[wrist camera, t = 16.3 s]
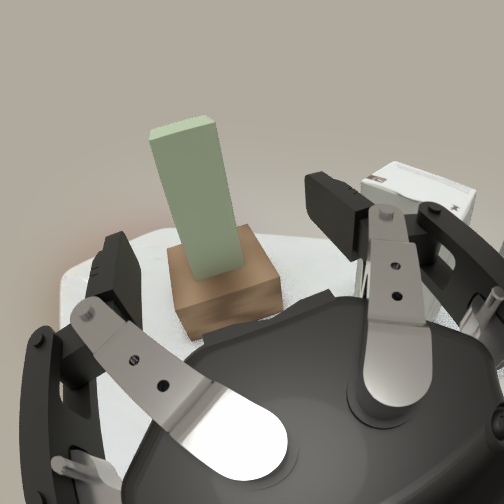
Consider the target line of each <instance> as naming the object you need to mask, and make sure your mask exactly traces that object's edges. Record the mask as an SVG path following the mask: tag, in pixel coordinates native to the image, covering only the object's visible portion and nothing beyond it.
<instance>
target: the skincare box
mask: <svg viewBox="0 0 504 504" xmlns="http://www.w3.org/2000/svg"><path fill="white" fill-rule="evenodd" d="M361 194H362V195H363V196H365V197H366V198H367V199H369V200H370V201H371V202H373V203H374V204H375V205H376V204H389V205H392V206H395V207H397V208H399V209H400V210H401V211H402V212H403V214H417V212H418V207H419V204H420V203H422V202H425V201H430V202H435V203H438V204H440V205H442V206H444V207H445V208H446V209H448V210H449V211H450V212H452V213H453V214H454V215H455V216H457V217H458V218H459V219H460V220H462V221H463V222H464V223H465V224H466V225H468V226H469V224H470V220H471V216H472V212H473V207H474V202H475V197H476V190H474V189H472V188H469V187H467V186H464V185H462V184H459V183H456V182H454V181H451V180H448V179H446V178H443V177H440V176H437V175H434V174H431V173H429V172H426V171H423V170H420V169H417V168H414V167H411V166H408V165H405V164H402V163H399V162H396V161H394V162H392V163H390V164H388V165H386V166H385V167H383V168H382V169H380V170H378V171H377V172H375V173H373V174H372V175H370V176H369V177H367V178H365V179H363V180H362V181H361ZM438 255H439V256H440V257H441V258H442V259H443V260H444V261H445V262H446V263H447V264H448V265H449V266H450V267H451V269H452V270H454V267H455V259H454V256H453V255H452V253H451V252H450V251H448V250H447V249H446V248H445V247H444V246H443V245H441V248H440V251H439V254H438ZM362 263H363V260H362V259H361V258H360V259H358V260H357V272H356V282H355V291H354V297H360V286H361V273H362ZM422 289H423V297H424V308H425V319H426V320H428V321H431V322H433V321H434V319H435V318H436V316H437V314H438V312H439V310H440V307H441V304H440V302H439V301H438V300H437V299H436V297H435V296H434V295H433V294H432V293H431V292H430V290H429V289H428V288H427V287H426V286H425V285H424V283H423V282H422Z"/></svg>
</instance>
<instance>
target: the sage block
mask: <svg viewBox="0 0 504 504" xmlns="http://www.w3.org/2000/svg"><path fill="white" fill-rule="evenodd" d="M149 142H150V145H151V149H152V152H153V156H154V159H155V163H156V166H157V169H158V173H159V176H160V179H161V182H162V186H163V189H164V192H165V195H166V198H167V201H168V204H169V207H170V211H171V214H172V217H173V220H174V222H175V225H176V228H177V231H178V234H179V237H180V240H181V243H182V245H183V248H184V251H185V254H186V257H187V259H188V262H189V265H190V267H191V270H192V273H193V275H194V278H195V281H199V280H202V279H206V278H209V277H212V276H215V275H218V274H221V273H224V272H228V271H231V270H234V269H237V268H240V267H243V266H245V265H244V260H243V255H242V251H241V246H240V241H239V236H238V231H237V227H236V222H235V217H234V212H233V207H232V202H231V198H230V193H229V188H228V183H227V178H226V173H225V168H224V163H223V158H222V153H221V148H220V143H219V138H218V133H217V128H216V123H215V122H214V121H213V120H212V119H210V118H209V117H207V116H206V115H202V116H198V117H194V118H191V119H187V120H183V121H179V122H176V123H172V124H169V125H166V126H163V127H159V128H156V129H153V130H151V134H150V139H149Z"/></svg>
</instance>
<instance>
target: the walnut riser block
mask: <svg viewBox="0 0 504 504" xmlns="http://www.w3.org/2000/svg"><path fill="white" fill-rule="evenodd" d="M237 231H238V236H239V241H240V246H241V251H242V255H243V260H244V265H245V266H243V267H240V268H237V269H234V270H231V271H228V272H224V273H221V274H218V275H215V276H212V277H209V278H206V279H202V280H199V281H195V278H194V275H193V273H192V270H191V267H190V265H189V262H188V259H187V257H186V254H185V251H184V248H183V245H182V244H180V245H177V246H174V247H171V248H168V249H167V255H168V264H169V272H170V280H171V287H172V294H173V301H174V308H175V312H176V314H177V315H178V317H179V319H180V321H181V323H182V325H183V327H184V329H185V330H186V332H187V334H188V336H189V338H190V339H191V341H194V340H197V339H201V338H203V337H202V334H205V333H208V332H211V331H214V330H217V329H220V328H223V327H226V326H229V325H232V324H237V323H245V322H253V321H256V320H259V319H262V318H264V317H267V316H270V315H273V314H276V313H278V312H281V311H283V303H282V293H281V283H280V276H279V274H278V273H277V271H276V269H275V268H274V266H273V264H272V263H271V261H270V260H269V258H268V256H267V255H266V253H265V251H264V250H263V248H262V246H261V245H260V243H259V242H258V240H257V238H256V237H255V235H254V233H253V232H252V230H251V229H250V227H249V226H248V224H245V225H242V226H238V227H237Z"/></svg>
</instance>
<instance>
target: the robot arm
mask: <svg viewBox="0 0 504 504" xmlns="http://www.w3.org/2000/svg"><path fill="white" fill-rule="evenodd" d="M305 194H306V195H305V196H306V209H307V213H308V215H309V217H310V219H311V220H312V221H313V222H314V223H315V224H316V225H317V226H318V227H319V228H320V229H321V230H322V231H323V233H324V234H325V235H326V236H327V237H328V238H329V239H330V240H331V241H332V242H333V243H334V244H335V245H336V246H337V248H338V249H339V250H340V251H341V252H342V253H343V254H344V255H345V256H346V257H347V259H348V260H349V261H350V262H352V261H355V260H357V259H360V258H361V259H362V260H363V263H362V273H361V286H360V297H353V296H342V297H334V295H333V294H332V293H331V291H330V290H329V289H327V290H325V291H322V292H320V293H317V294H315V295H312V296H310V297H307V298H304V299H302V300H299V301H298V302H296V303H295V304H293V305H292V306H290V307H289V308H287V309H286V310H284V311H283V312H281V313H280V314H278V315H277V316H275V317H273V318H271V319H267V320H260V321H253V322H245V323H237V324H232V325H229V326H226V327H223V328H220V329H217V330H214V331H211V332H208V333H205V334H202V337H203V341H204V345H202V346H201V347H199V348H198V349H196V350H195V351H194V352H192V353H191V354H190V355H189V356H188V357H187V358H186V359H185V360H184V361H181V360H180V359H179V358H177V357H176V356H175V355H173V354H172V353H170V352H169V351H168V350H166V349H165V348H164V347H162V346H161V345H160V344H158V343H157V342H156V341H155V340H153V339H152V338H151V337H149V336H148V335H147V334H146V333H144V332H143V326H142V301H141V269H140V265H139V262H138V260H137V258H136V256H135V254H134V252H133V250H132V248H131V246H130V244H129V242H128V240H127V237H126V236H125V234H124V232H123V231H120V232H117V233H115V234H112V235H109V236H107V237H106V238H105V242H104V247H103V250H102V251H99V252H98V254H97V255H96V257H95V258H94V260H93V262H92V267H91V271H90V276H89V277H90V278H89V280H88V285H87V290H86V296H85V299H84V300H82V301H81V302H80V303H78V304H77V305H76V307H75V308H74V309H73V311H72V313H71V316H70V324H69V325H67V326H66V327H64V328H63V329H61V330H60V331H58V332H57V333H55V331H54V330H53V329H52V328H51V327H50V326H42V327H40V328H38V329H37V330H36V331H35V332H34V333H33V334H32V335H31V337H30V339H29V341H28V344H27V349H26V356H25V362H24V369H23V377H22V386H21V398H20V416H19V418H20V419H19V445H20V464H21V474H22V483H23V490H24V497H25V501H26V504H504V396H503V393H502V391H501V387H500V384H499V380H498V375H497V370H499V369H501V368H503V367H504V242H503V244H502V247H501V249H500V251H499V253H498V252H497V251H496V250H495V249H494V248H493V247H492V246H490V245H489V244H488V243H487V242H486V241H485V240H484V239H483V238H482V237H480V236H479V235H478V234H477V233H476V232H475V231H474V230H472V229H471V228H470V227H469V226H468V225H466V224H465V223H464V222H463V221H462V220H460V219H459V218H458V217H457V216H455V215H454V214H453V213H452V212H450V211H449V210H448V209H446V208H445V207H444V206H442V205H440V204H438V203H435V202H430V201H425V202H422V203H420V204H419V207H418V212H417V214H403V212H402V211H401V210H400V209H399V208H397V207H395V206H392V205H389V204H376V205H375V204H374V203H373V202H371V201H370V200H369V199H367V198H366V197H365V196H363V195H362V194H360V193H358V191H356V190H355V189H352V187H351V186H349V185H347V184H346V183H345V182H342V181H339V180H336V179H333V178H331V177H330V176H328V175H327V174H325V173H324V172H322V171H321V172H317V173H312V174H308V175H306V176H305ZM441 245H443V246H444V247H445V248H446V249H447V250H448V251H450V252H451V253H452V255H453V256H454V259H455V267H454V270H452V269H451V267H450V266H449V265H448V264H447V263H446V262H445V261H444V260H443V259H442V258H441V257H440V256H439V255H438V254H439V251H440V248H441ZM422 282H423V283H424V285H425V286H426V287H427V288H428V289H429V290H430V292H431V293H432V294H433V295H434V296H435V297H436V299H437V300H438V301H439V302H440V304H441V305H442V306H443V307H444V308H445V310H446V311H447V312H448V313H449V315H450V316H451V317H452V318H453V320H454V321H455V322H456V324H457V325H458V326H459V328H460V332H459V331H456V330H453V329H451V328H448V327H445V326H442V325H439V324H436V323H433V322H431V321H428V320H426V319H425V308H424V297H423V289H422ZM104 372H107V373H108V374H109V375H110V376H111V377H112V378H113V380H114V381H115V382H116V383H117V384H118V385H119V386H120V387H121V388H122V389H123V390H124V391H125V392H126V393H127V394H128V396H129V397H130V398H131V399H132V400H133V401H134V402H135V403H136V404H137V405H138V406H140V407H141V408H142V409H143V410H144V411H145V412H146V413H147V414H148V415H149V416H150V417H151V418H152V421H151V423H150V425H149V427H148V429H147V431H146V433H145V435H144V437H143V439H142V441H141V443H140V445H139V447H138V449H137V452H136V454H135V456H134V458H133V460H132V462H131V464H130V466H129V468H128V470H127V472H126V474H125V476H124V479H123V481H122V480H121V478H120V477H119V476H118V474H117V472H116V470H115V468H114V467H113V466H112V465H111V464H110V463H109V462H108V461H106V459H105V454H104V448H103V442H102V435H101V427H100V419H99V409H98V398H97V383H96V377H98V376H99V375H101V374H103V373H104ZM60 382H62V383H63V402H62V401H61V398H60V394H59V384H60Z"/></svg>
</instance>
